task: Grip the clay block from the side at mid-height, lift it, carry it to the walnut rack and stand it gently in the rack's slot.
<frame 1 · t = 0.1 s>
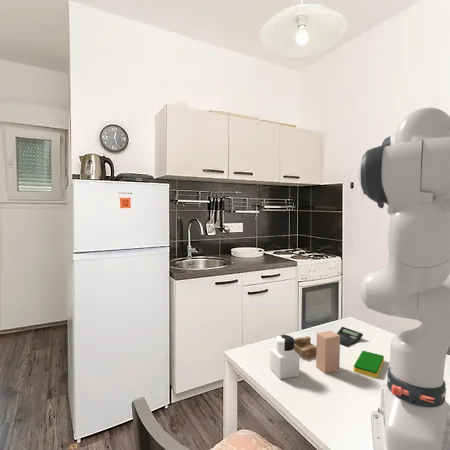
hand: (422, 229, 98), 48 cm above the table, tool pointing down, fingers open, 8 cm apart
dish sponge: (369, 367, 106), on the table
clay block: (327, 368, 104), on the table
walnut rack: (304, 350, 117), on the table
calculator: (344, 340, 127), on the table
medicine bottle: (284, 372, 101), on the table
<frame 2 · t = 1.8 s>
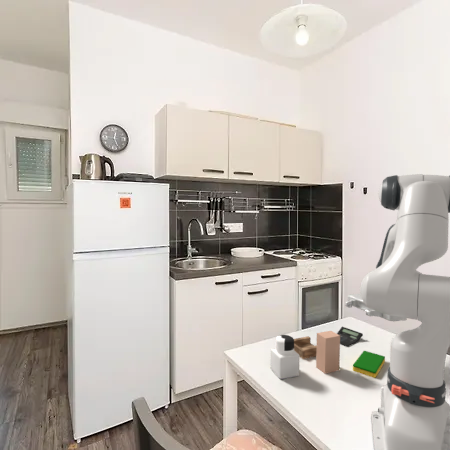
hand: (356, 308, 107), 19 cm above the table, tool horizontal, fingers open, 8 cm apart
nothing on the table moved.
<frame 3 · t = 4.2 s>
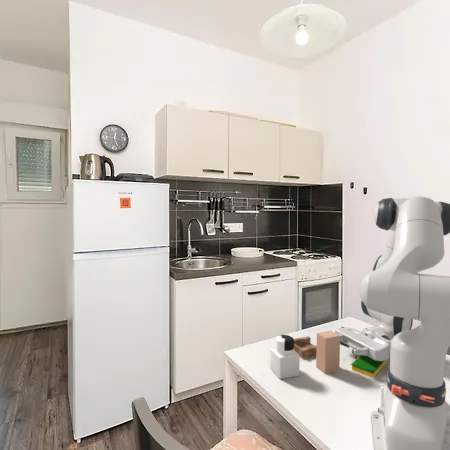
hand: (343, 345, 106), 7 cm above the table, tool horizontal, fingers open, 8 cm apart
nothing on the table moved.
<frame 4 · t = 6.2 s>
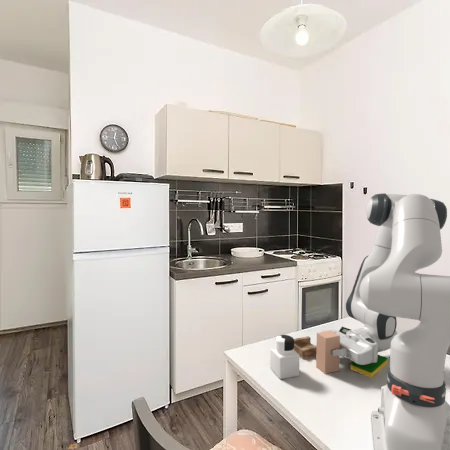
hand: (325, 349, 103), 7 cm above the table, tool horizontal, fingers closed on clay block, 4 cm apart
clay block: (327, 368, 104), on the table, touching gripper
everything else where it was.
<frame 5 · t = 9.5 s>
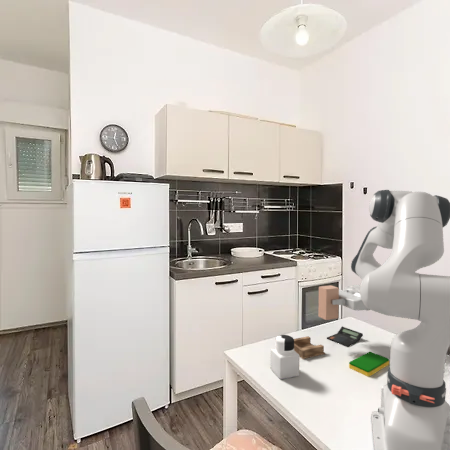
hand: (326, 300, 120), 19 cm above the table, tool horizontal, fingers closed on clay block, 4 cm apart
clay block: (328, 317, 120), point 12 cm above the table, touching gripper
when the fingers open (9 cm above the table, at t = 12.7 s): clay block drops 1 cm, resting on walnut rack.
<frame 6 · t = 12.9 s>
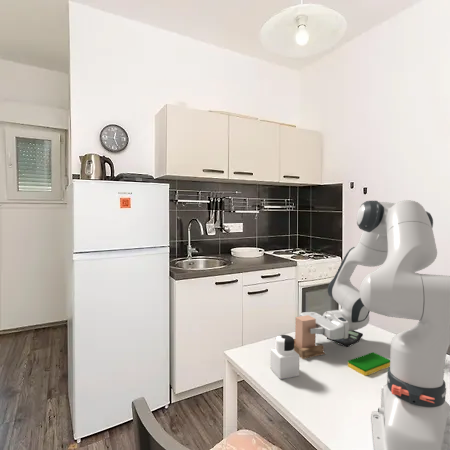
hand: (303, 327, 116), 9 cm above the table, tool horizontal, fingers open, 6 cm apart
clay block: (305, 348, 117), point 1 cm above the table, touching walnut rack
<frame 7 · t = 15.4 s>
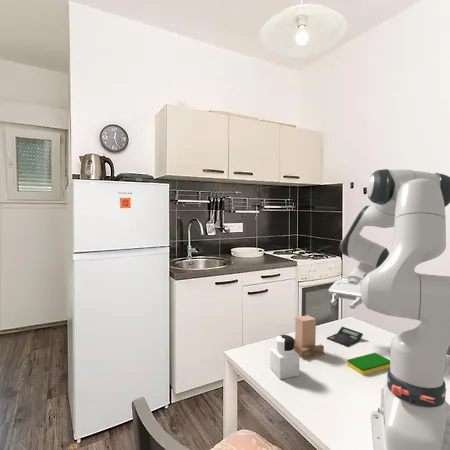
hand: (341, 305, 119), 17 cm above the table, tool tilted 50°, fingers open, 8 cm apart
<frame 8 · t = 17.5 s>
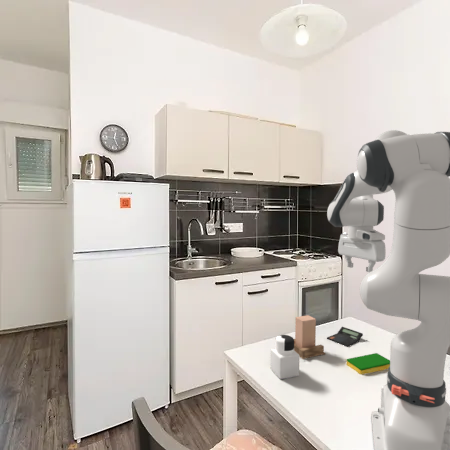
hand: (359, 269, 117), 31 cm above the table, tool pointing down, fingers open, 8 cm apart
at the end: clay block 0.1 cm off-centre on the walnut rack, point 0.6 cm above the walnut rack's base; clay block tilted 0°; the gripper is holding nothing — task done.
